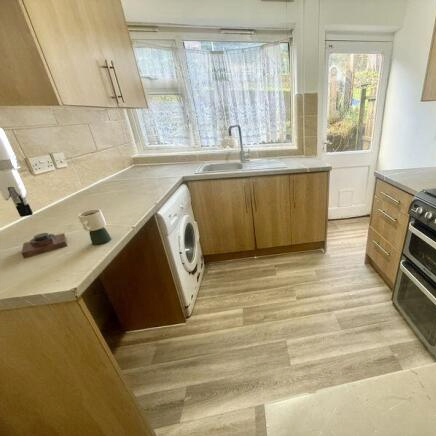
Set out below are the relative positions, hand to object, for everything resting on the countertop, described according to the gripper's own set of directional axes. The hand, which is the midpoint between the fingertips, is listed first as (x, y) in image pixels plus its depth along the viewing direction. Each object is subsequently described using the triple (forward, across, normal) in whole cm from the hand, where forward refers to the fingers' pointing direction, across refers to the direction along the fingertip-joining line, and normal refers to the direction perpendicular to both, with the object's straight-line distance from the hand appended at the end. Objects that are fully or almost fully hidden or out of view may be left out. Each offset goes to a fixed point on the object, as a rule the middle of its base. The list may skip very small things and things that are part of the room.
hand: (26, 215), depth 89 cm
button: (+10, +1, +1) cm, 10 cm away
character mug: (+13, +12, +18) cm, 25 cm away
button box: (+14, +1, +1) cm, 14 cm away
